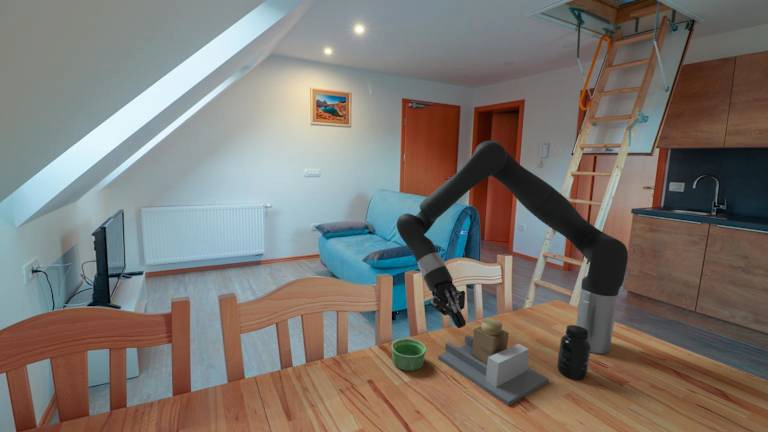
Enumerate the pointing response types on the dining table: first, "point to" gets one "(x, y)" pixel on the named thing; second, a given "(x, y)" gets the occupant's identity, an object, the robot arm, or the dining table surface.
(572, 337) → the supplement bottle
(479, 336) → the brown bottle-shaped block
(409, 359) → the ramekin
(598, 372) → the dining table surface
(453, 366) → the mount
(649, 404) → the dining table surface
